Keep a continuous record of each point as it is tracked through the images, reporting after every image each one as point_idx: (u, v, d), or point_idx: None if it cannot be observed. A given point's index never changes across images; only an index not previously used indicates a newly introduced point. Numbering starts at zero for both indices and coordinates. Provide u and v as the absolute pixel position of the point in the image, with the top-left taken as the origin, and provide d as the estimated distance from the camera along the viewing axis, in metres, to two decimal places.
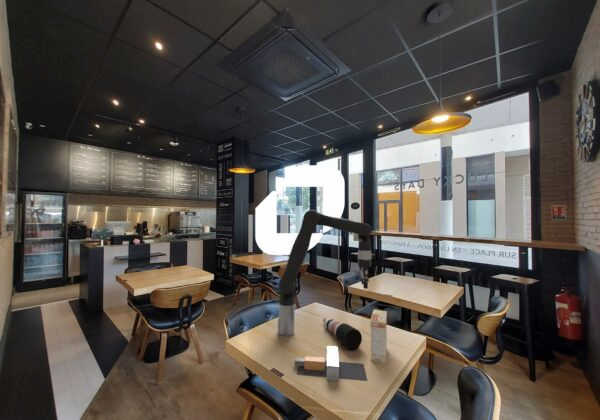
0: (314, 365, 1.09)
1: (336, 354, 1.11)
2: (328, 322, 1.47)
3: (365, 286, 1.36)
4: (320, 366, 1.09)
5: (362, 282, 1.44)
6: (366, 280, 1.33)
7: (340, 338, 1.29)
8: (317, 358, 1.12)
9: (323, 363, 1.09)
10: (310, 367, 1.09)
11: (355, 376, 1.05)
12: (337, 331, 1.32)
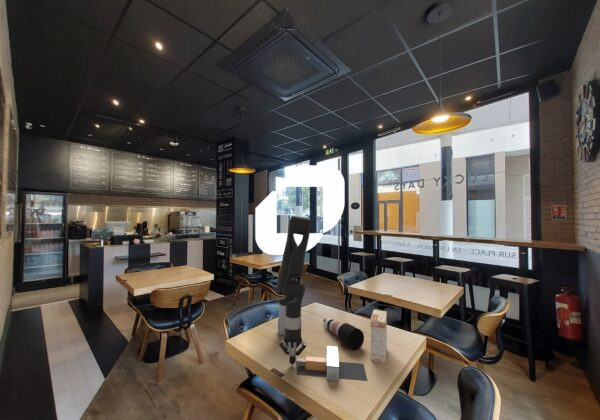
0: (315, 365, 1.09)
1: (336, 354, 1.11)
2: (329, 322, 1.47)
3: (294, 360, 1.12)
4: (321, 366, 1.09)
5: None
6: None
7: (342, 338, 1.29)
8: (319, 358, 1.11)
9: (324, 363, 1.09)
10: (311, 367, 1.09)
11: (355, 376, 1.05)
12: (339, 331, 1.33)
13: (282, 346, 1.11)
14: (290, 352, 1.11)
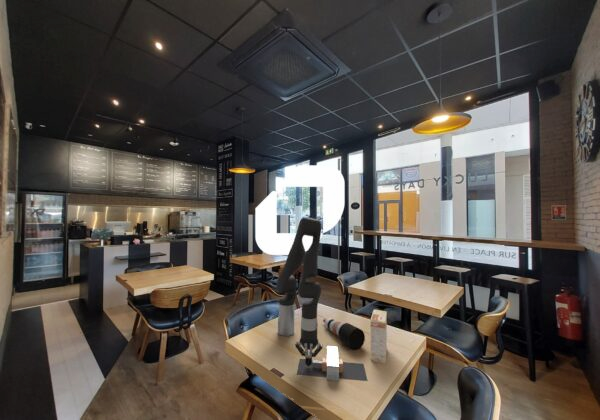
0: None
1: (336, 354, 1.11)
2: (329, 322, 1.47)
3: None
4: None
5: None
6: None
7: (343, 338, 1.29)
8: None
9: (341, 365, 1.07)
10: None
11: (355, 376, 1.05)
12: (340, 331, 1.33)
13: (298, 347, 1.10)
14: (306, 353, 1.10)
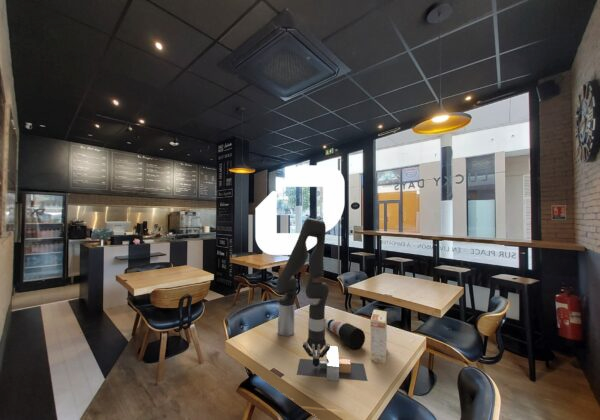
0: (340, 367, 1.08)
1: (336, 354, 1.11)
2: (329, 322, 1.47)
3: None
4: (346, 368, 1.07)
5: None
6: None
7: (343, 338, 1.29)
8: (342, 360, 1.10)
9: (349, 365, 1.07)
10: None
11: (355, 376, 1.05)
12: (340, 331, 1.33)
13: (306, 348, 1.10)
14: (314, 354, 1.10)
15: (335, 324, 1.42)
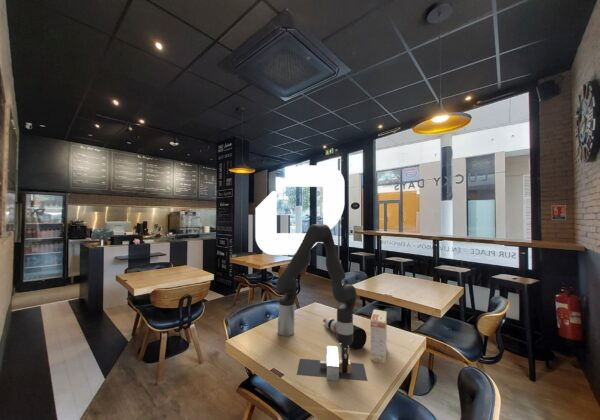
0: (340, 367, 1.08)
1: (336, 354, 1.11)
2: (330, 322, 1.47)
3: None
4: None
5: None
6: None
7: None
8: None
9: (349, 365, 1.07)
10: None
11: (355, 376, 1.05)
12: None
13: (348, 357, 1.04)
14: None
15: None
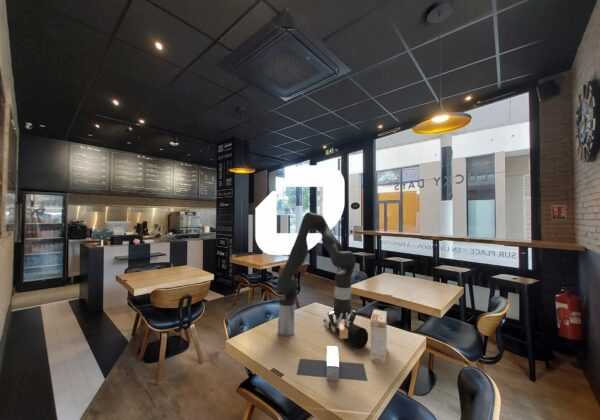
0: None
1: (336, 354, 1.11)
2: None
3: None
4: None
5: (338, 333, 1.08)
6: None
7: None
8: (343, 326, 1.10)
9: (340, 331, 1.07)
10: (334, 330, 1.12)
11: (355, 376, 1.05)
12: None
13: (332, 318, 1.07)
14: (338, 323, 1.07)
15: None
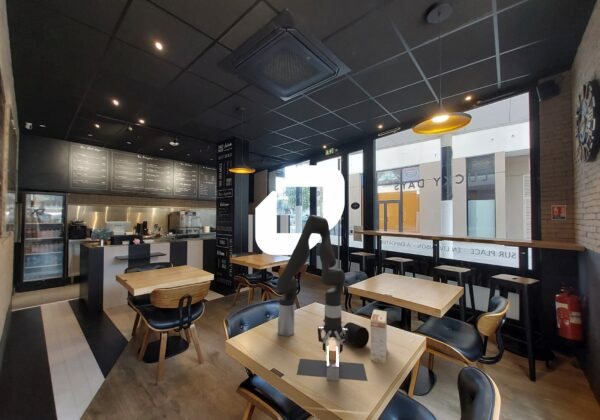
0: None
1: (336, 354, 1.11)
2: None
3: None
4: None
5: (325, 349, 1.09)
6: (346, 340, 1.09)
7: (348, 337, 1.30)
8: (334, 347, 1.10)
9: None
10: None
11: (355, 376, 1.05)
12: None
13: (319, 332, 1.09)
14: (323, 339, 1.09)
15: None
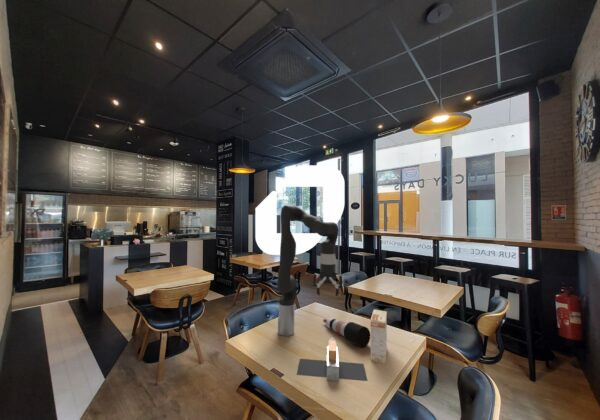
0: None
1: (336, 354, 1.11)
2: (331, 322, 1.47)
3: (337, 293, 1.20)
4: None
5: (319, 293, 1.21)
6: None
7: (350, 337, 1.30)
8: (334, 347, 1.10)
9: None
10: None
11: (355, 376, 1.05)
12: (345, 330, 1.34)
13: (315, 278, 1.21)
14: (318, 284, 1.20)
15: (338, 323, 1.42)
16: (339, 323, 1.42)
